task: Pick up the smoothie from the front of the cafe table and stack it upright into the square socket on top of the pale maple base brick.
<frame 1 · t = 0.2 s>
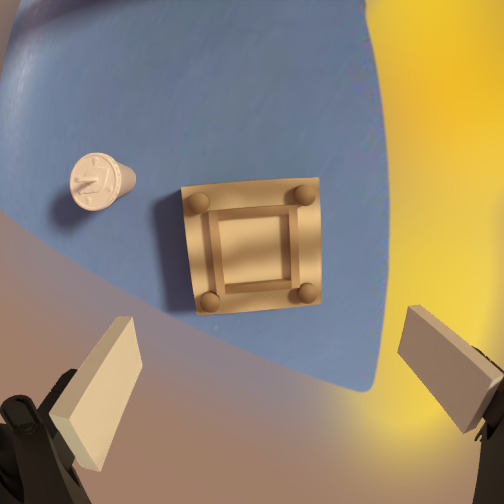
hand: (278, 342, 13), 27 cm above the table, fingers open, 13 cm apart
smoothie: (124, 179, 37), on the table
base brick: (252, 240, 40), on the table
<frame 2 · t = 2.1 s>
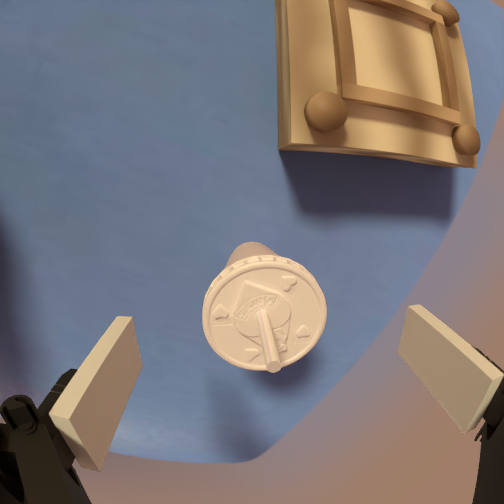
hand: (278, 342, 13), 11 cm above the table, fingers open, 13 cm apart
smoothie: (251, 263, 24), on the table
base brick: (368, 69, 20), on the table
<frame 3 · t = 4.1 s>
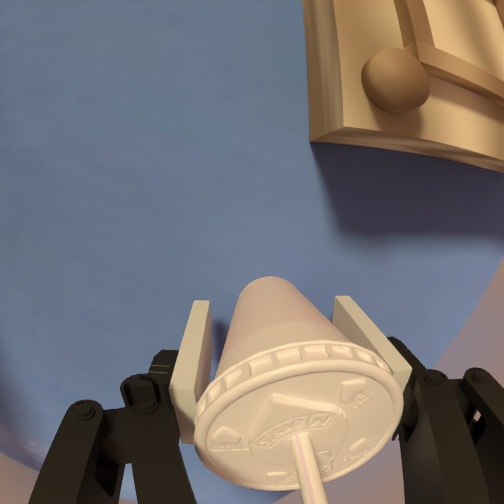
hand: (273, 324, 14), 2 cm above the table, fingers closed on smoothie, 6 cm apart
smoothie: (268, 306, 16), on the table, touching gripper
base brick: (420, 42, 13), on the table
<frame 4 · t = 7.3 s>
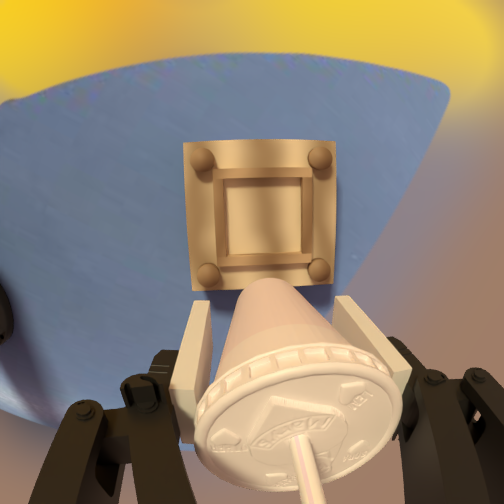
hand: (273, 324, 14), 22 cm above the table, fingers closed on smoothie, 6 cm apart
smoothie: (268, 307, 16), point 20 cm above the table, touching gripper
base brick: (258, 210, 35), on the table
when the fingers open (9 cm above the table, at t = 10.8 s): smoothie drops 2 cm, resting on base brick.
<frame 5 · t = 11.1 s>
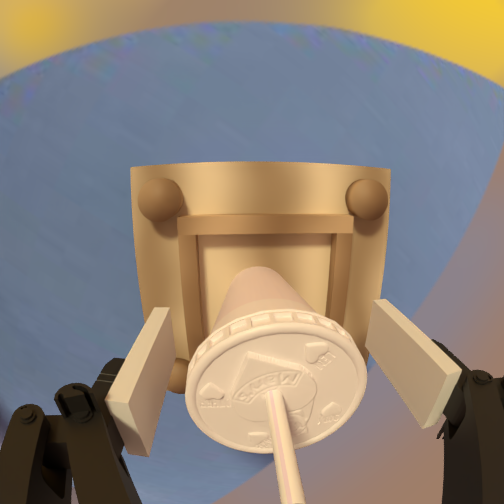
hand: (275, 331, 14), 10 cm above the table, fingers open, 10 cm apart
smoothie: (257, 293, 18), point 5 cm above the table, touching base brick
base brick: (259, 269, 23), on the table
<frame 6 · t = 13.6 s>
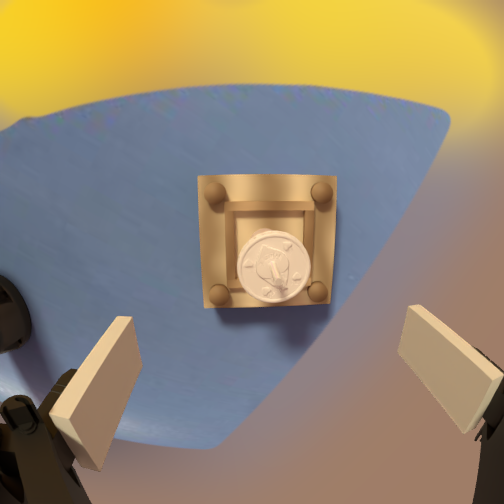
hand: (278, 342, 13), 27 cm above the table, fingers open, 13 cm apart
smoothie: (264, 243, 34), point 5 cm above the table, touching base brick
base brick: (265, 235, 39), on the table
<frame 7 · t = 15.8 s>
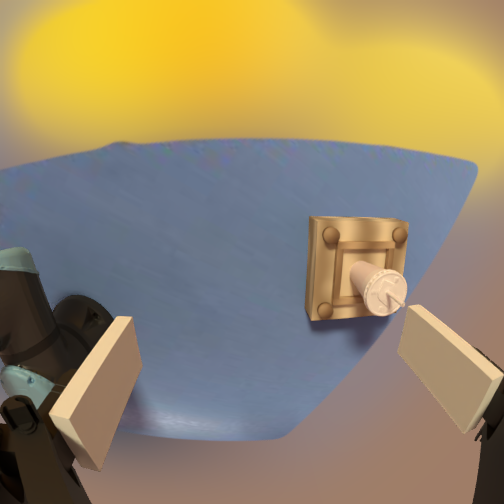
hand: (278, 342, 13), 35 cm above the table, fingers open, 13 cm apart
smoothie: (359, 271, 44), point 5 cm above the table, touching base brick
base brick: (351, 262, 49), on the table
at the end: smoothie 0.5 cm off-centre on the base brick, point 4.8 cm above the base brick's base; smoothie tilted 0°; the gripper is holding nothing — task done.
